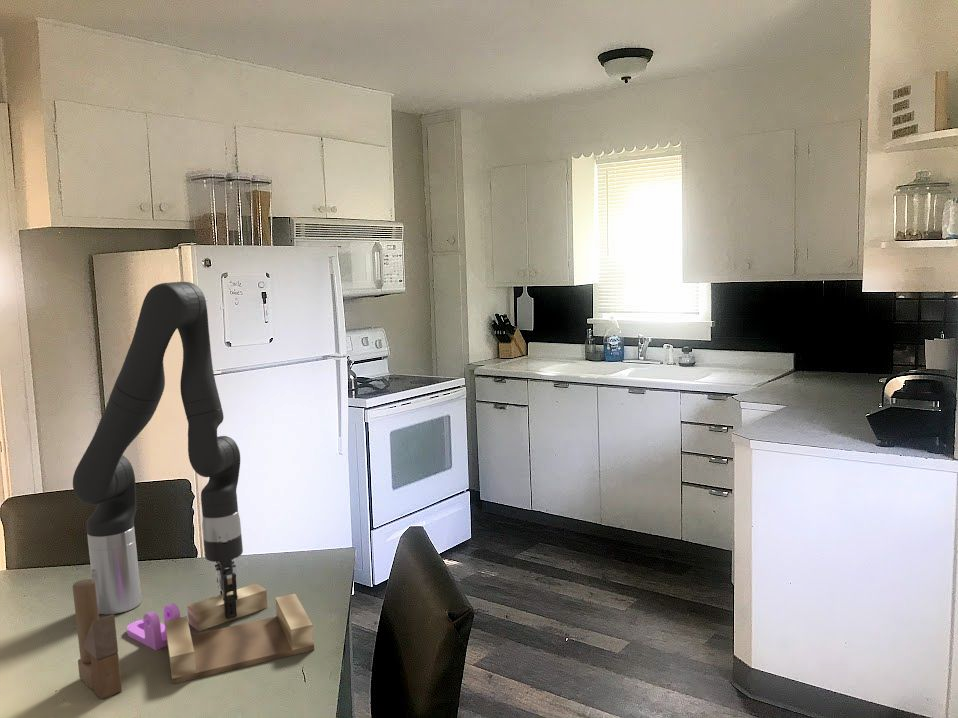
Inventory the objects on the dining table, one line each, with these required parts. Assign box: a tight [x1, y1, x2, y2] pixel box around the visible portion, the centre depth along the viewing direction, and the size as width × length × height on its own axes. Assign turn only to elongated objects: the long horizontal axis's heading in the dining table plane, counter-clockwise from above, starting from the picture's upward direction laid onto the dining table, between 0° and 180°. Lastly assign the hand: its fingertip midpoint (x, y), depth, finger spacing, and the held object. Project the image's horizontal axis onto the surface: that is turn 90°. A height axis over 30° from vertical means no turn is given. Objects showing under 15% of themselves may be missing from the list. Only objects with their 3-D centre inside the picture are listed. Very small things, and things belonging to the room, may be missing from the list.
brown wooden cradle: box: [164, 593, 315, 685], centre depth 151 cm, size 25×16×5 cm, turn 114°
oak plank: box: [187, 583, 269, 632], centre depth 165 cm, size 15×5×4 cm, turn 131°
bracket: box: [126, 603, 181, 651], centre depth 157 cm, size 13×6×7 cm, turn 51°
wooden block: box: [72, 578, 123, 700], centre depth 139 cm, size 4×11×18 cm, turn 45°
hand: (229, 611), depth 166 cm, fingers closed on oak plank, 6 cm apart
